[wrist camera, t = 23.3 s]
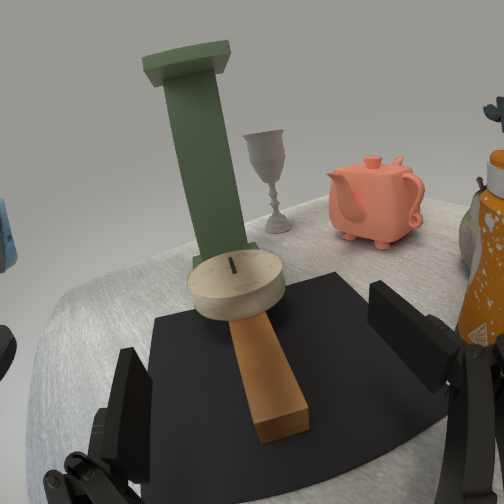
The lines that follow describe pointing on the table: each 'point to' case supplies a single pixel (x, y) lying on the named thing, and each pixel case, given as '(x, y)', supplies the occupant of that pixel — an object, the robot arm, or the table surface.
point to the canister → (487, 255)
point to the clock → (253, 335)
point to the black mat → (312, 387)
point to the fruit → (470, 227)
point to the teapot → (375, 201)
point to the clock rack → (202, 143)
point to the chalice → (269, 170)
